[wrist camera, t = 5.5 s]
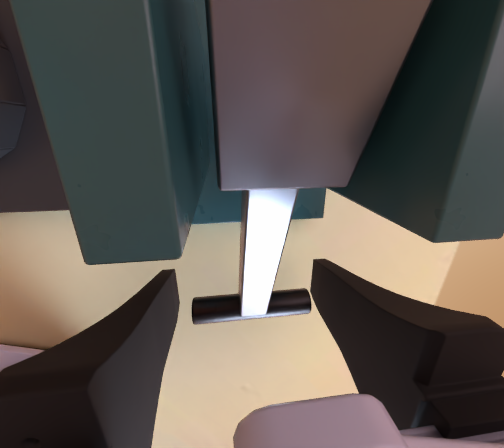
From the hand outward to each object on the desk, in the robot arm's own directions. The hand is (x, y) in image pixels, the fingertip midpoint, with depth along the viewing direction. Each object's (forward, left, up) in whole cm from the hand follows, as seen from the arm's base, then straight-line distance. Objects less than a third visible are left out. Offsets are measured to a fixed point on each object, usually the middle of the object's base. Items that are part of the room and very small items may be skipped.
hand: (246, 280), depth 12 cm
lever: (+5, +2, +3) cm, 6 cm away
